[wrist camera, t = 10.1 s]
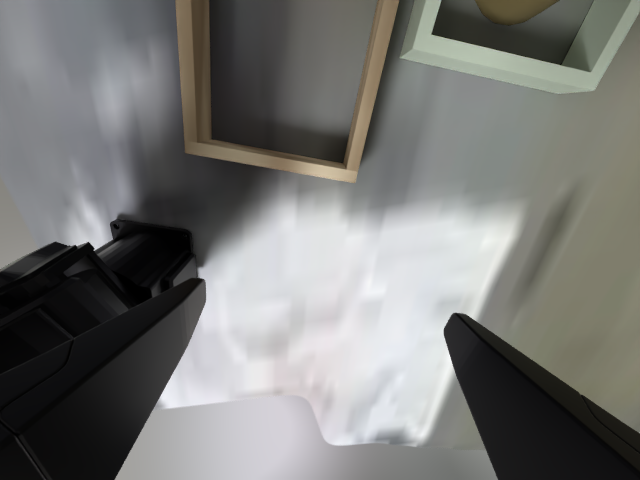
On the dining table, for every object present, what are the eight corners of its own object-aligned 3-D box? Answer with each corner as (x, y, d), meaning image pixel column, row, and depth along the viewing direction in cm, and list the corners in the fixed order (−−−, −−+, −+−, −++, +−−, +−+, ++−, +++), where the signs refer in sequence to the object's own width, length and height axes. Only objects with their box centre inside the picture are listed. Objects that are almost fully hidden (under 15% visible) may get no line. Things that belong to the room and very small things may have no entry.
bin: (200, 148, 19) (185, 153, 16) (192, -73, 14) (168, -110, 11) (350, 175, 20) (355, 183, 17) (396, -22, 15) (410, -46, 12)
